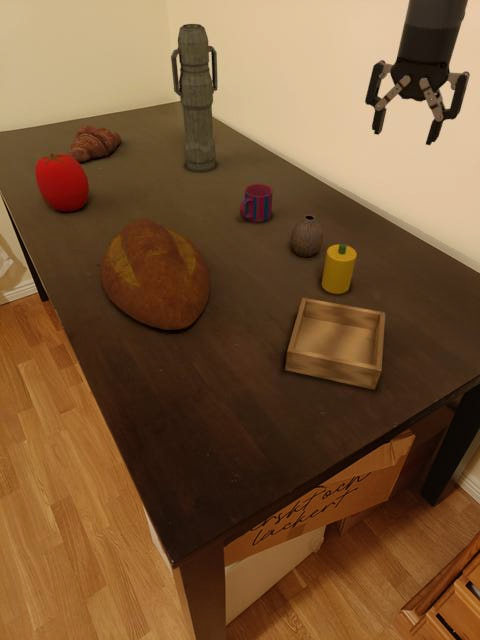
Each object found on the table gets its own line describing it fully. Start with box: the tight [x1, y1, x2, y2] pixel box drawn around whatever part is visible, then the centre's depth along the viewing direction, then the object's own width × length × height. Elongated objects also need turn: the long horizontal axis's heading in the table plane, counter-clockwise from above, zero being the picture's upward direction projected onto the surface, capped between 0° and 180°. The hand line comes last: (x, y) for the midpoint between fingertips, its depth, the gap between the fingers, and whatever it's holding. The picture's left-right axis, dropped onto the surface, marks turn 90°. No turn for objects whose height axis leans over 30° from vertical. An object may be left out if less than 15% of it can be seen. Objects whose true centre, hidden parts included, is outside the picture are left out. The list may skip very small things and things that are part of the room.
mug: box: [239, 183, 273, 223], centre depth 104 cm, size 7×10×7 cm
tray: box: [284, 297, 386, 390], centre depth 73 cm, size 15×14×5 cm
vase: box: [290, 214, 324, 258], centre depth 93 cm, size 7×7×9 cm
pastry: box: [68, 125, 122, 163], centre depth 133 cm, size 17×15×8 cm
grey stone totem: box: [170, 23, 219, 172], centre depth 116 cm, size 9×12×35 cm
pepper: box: [321, 243, 358, 295], centre depth 84 cm, size 6×6×10 cm
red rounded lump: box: [34, 152, 90, 213], centre depth 106 cm, size 13×11×14 cm
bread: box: [99, 218, 211, 331], centre depth 83 cm, size 21×33×12 cm, turn 21°
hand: (402, 138), depth 71 cm, fingers open, 8 cm apart
